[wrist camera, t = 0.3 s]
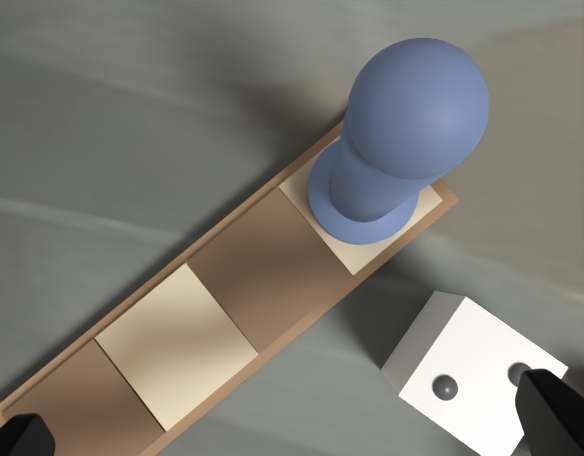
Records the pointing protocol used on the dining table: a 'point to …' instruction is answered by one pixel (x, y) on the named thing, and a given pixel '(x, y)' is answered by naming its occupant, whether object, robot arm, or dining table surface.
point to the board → (207, 320)
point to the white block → (466, 372)
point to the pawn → (398, 138)
